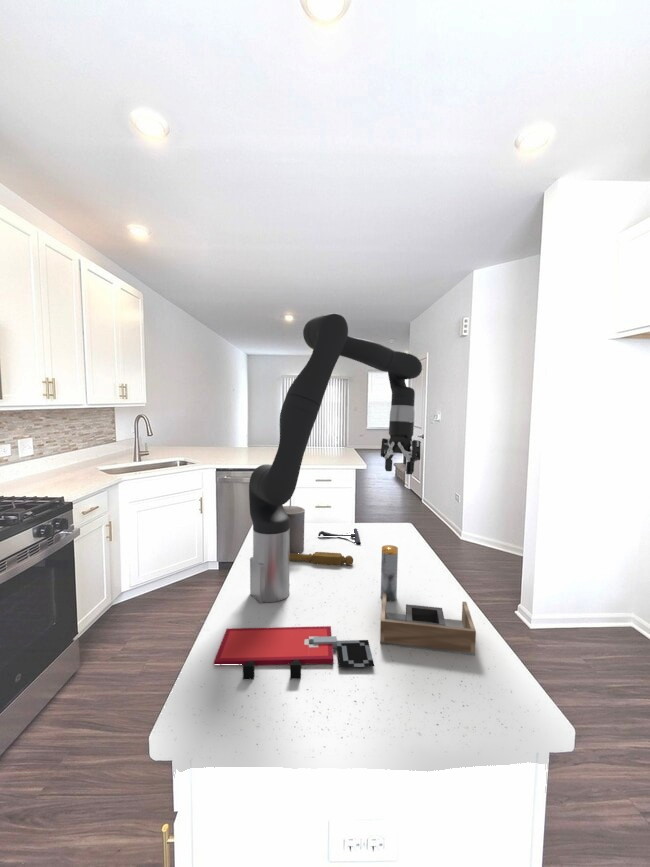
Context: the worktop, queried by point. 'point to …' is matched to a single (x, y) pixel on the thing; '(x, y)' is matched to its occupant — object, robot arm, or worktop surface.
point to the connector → (389, 572)
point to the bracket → (343, 535)
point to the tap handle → (322, 558)
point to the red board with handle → (289, 648)
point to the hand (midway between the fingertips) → (398, 472)
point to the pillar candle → (296, 528)
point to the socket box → (428, 629)
